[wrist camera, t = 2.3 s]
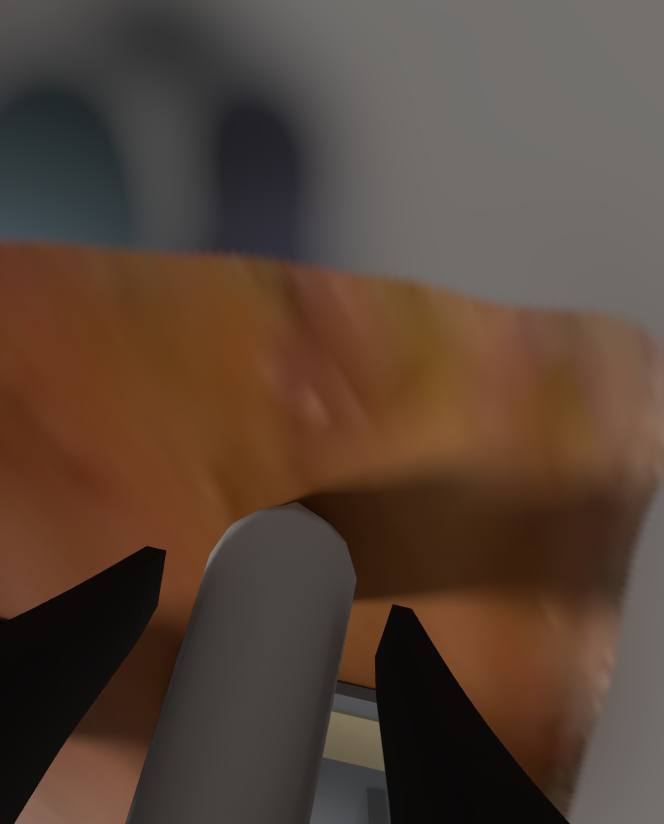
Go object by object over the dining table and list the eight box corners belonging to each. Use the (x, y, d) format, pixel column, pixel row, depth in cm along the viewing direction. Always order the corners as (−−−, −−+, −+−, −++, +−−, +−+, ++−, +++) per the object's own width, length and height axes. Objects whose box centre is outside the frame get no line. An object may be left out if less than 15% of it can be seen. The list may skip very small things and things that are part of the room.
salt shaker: (380, 550, 15) (571, 1622, 2) (289, 618, 16) (90, 1653, 3) (292, 458, 14) (-88, 1353, 2) (202, 536, 15) (-480, 1489, 3)
